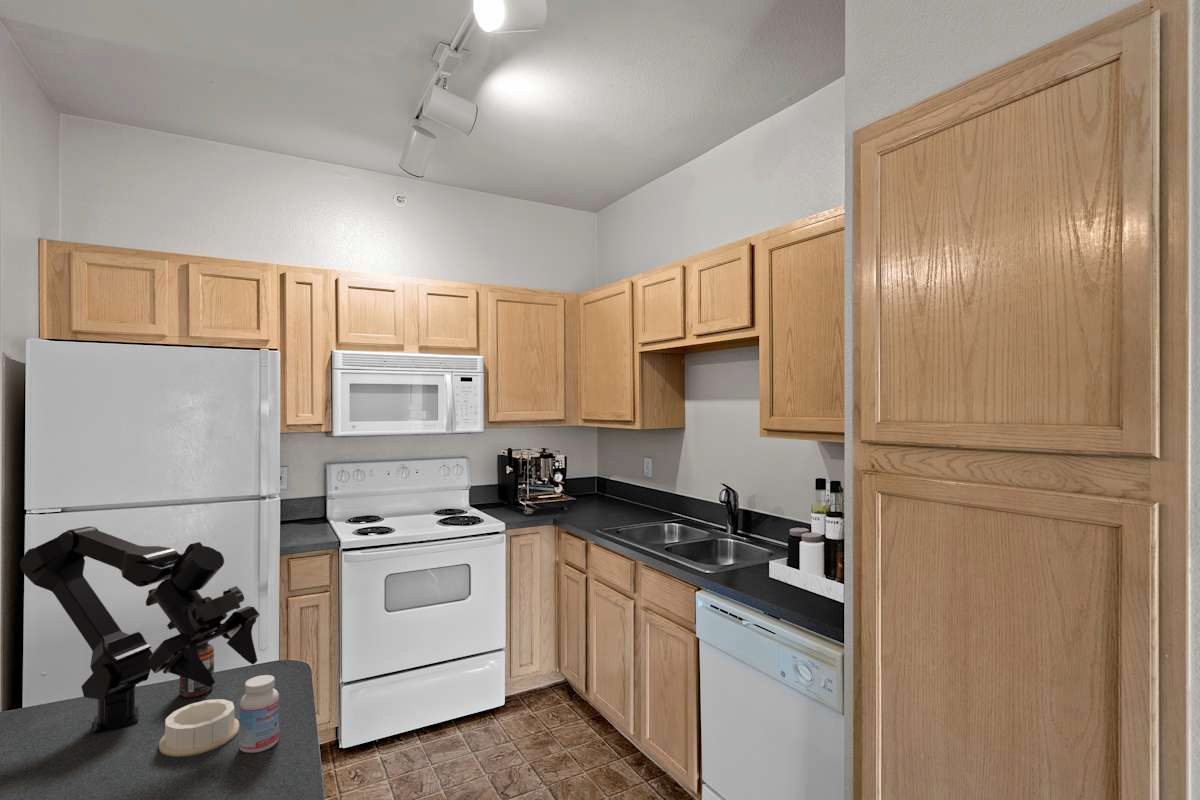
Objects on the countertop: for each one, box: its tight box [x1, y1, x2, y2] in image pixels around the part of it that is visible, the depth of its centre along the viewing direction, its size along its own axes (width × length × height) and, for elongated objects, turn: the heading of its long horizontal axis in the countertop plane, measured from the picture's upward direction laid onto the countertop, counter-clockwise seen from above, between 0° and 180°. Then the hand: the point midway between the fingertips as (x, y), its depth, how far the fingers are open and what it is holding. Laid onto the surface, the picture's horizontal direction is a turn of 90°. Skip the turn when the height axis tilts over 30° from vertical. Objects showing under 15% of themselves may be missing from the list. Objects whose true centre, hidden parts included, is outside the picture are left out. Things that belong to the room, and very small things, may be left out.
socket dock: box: [158, 698, 240, 758], centre depth 109 cm, size 12×12×4 cm
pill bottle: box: [238, 674, 280, 754], centre depth 107 cm, size 6×6×11 cm
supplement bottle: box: [178, 641, 215, 698], centre depth 126 cm, size 6×6×11 cm
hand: (234, 673), depth 108 cm, fingers open, 9 cm apart
